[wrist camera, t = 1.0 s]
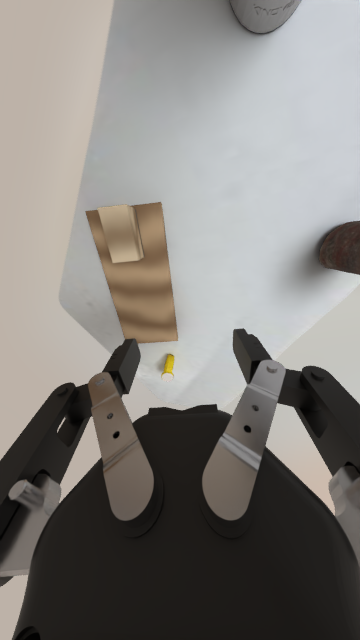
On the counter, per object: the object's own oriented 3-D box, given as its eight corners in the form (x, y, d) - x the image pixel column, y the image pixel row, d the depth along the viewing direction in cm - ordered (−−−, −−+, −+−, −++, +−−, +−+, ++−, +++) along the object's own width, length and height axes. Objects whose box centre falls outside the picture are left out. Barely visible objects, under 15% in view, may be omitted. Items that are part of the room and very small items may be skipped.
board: (90, 212, 26) (85, 211, 25) (161, 203, 26) (160, 202, 24) (128, 340, 39) (126, 344, 37) (177, 337, 38) (177, 340, 37)
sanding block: (110, 212, 25) (97, 208, 21) (135, 209, 25) (126, 204, 21) (122, 259, 28) (112, 263, 24) (144, 256, 28) (138, 260, 24)
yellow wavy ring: (166, 349, 40) (164, 365, 35) (177, 352, 41) (176, 368, 35) (161, 367, 43) (158, 385, 37) (171, 370, 43) (170, 387, 37)
